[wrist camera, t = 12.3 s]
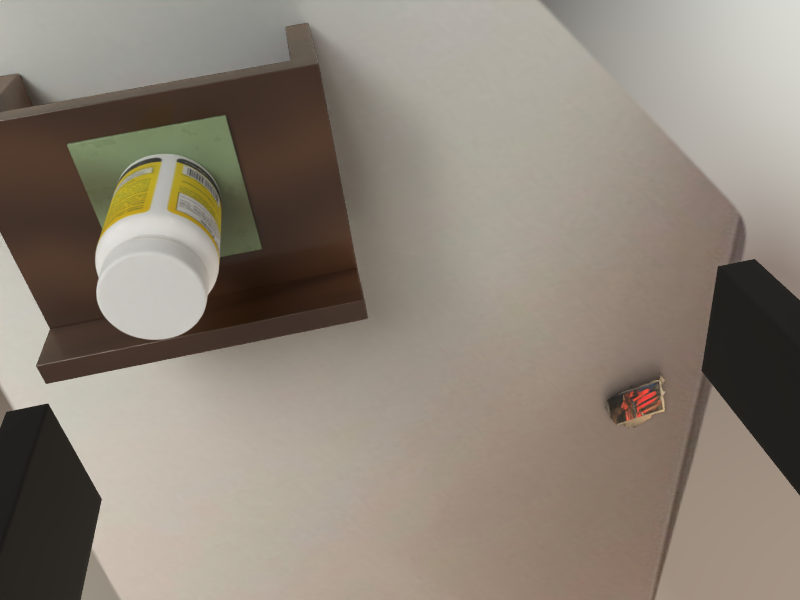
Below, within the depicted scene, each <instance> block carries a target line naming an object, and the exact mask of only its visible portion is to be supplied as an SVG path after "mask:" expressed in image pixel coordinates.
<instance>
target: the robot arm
mask: <svg viewBox="0 0 800 600" xmlns="http://www.w3.org/2000/svg"><path fill="white" fill-rule="evenodd" d="M702 372H703V373H704V374H705V376H706V377H707V378H708V380H709V381H710V382H711V383H712V385H713V386H714V387H715V388H716V390H717V391H718V392H719V393H720V395H721V396H722V397H723V399H724V400H725V401H726V402H727V403H728V405H729V406H730V407H731V409H732V410H733V411H734V413H735V414H736V415H737V416H738V418H739V419H740V420H741V421H742V422H743V424H744V425H745V426H746V428H747V429H748V430H749V432H750V433H751V434H752V435H753V437H754V438H755V439H756V440H757V442H758V443H759V444H760V446H761V447H762V448H763V449H764V451H765V452H766V453H767V454H768V456H769V457H770V458H771V459H772V461H773V462H774V463H775V465H776V466H777V467H778V468H779V470H780V471H781V472H782V473H783V475H784V476H785V477H786V479H787V480H788V481H789V482H790V484H791V485H792V486H793V487H794V489H795V490H796V491H797V492H798V494H799V495H800V300H799V299H798V298H797V297H796V296H794V295H793V294H792V293H791V292H790V291H789V290H788V289H787V288H786V287H785V286H783V285H782V284H781V283H780V282H779V281H778V280H777V279H776V278H774V276H772V275H771V274H770V273H769V272H768V271H767V270H766V269H765V268H764V267H763V266H762V265H761V264H759V263H758V262H757V261H756V260H755V259H753V260H748V261H743V262H738V263H733V264H728V265H723V266H718V270H717V276H716V283H715V289H714V295H713V302H712V308H711V314H710V321H709V327H708V333H707V340H706V346H705V352H704V359H703V365H702ZM101 500H102V499H101V497H100V495H99V493H98V492H97V490H96V488H95V486H94V485H93V483H92V481H91V479H90V477H89V476H88V474H87V472H86V470H85V468H84V467H83V465H82V463H81V461H80V460H79V458H78V456H77V454H76V452H75V451H74V449H73V447H72V445H71V443H70V442H69V440H68V438H67V436H66V434H65V433H64V431H63V429H62V427H61V426H60V424H59V422H58V420H57V418H56V417H55V415H54V413H53V411H52V409H51V408H50V406H49V404H43V405H39V406H34V407H29V408H24V409H19V410H14V411H9V412H6V415H5V417H4V420H3V422H2V425H1V427H0V600H81V595H82V590H83V585H84V581H85V576H86V571H87V566H88V562H89V557H90V552H91V548H92V543H93V538H94V533H95V529H96V524H97V519H98V514H99V510H100V505H101Z"/></svg>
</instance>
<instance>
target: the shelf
mask: <svg viewBox="0 0 800 600" xmlns="http://www.w3.org/2000/svg"><path fill="white" fill-rule="evenodd" d="M286 35H287V41H288V47H289V54H290V60H291V61H286V62H280V63H275V64H269V65H263V66H258V67H252V68H247V69H241V70H235V71H230V72H224V73H218V74H213V75H207V76H201V77H196V78H190V79H185V80H179V81H173V82H168V83H162V84H156V85H151V86H145V87H140V88H134V89H128V90H123V91H117V92H111V93H106V94H100V95H95V96H89V97H83V98H78V99H72V100H66V101H61V102H55V103H49V104H44V105H38V106H33V105H32V103H31V100H30V98H29V96H28V94H27V91H26V89H25V87H24V84H23V82H22V80H21V77H20V75H19V74H12V75H6V76H0V232H1V234H2V236H3V238H4V240H5V242H6V244H7V246H8V248H9V250H10V252H11V254H12V256H13V258H14V260H15V262H16V263H17V265H18V267H19V269H20V271H21V273H22V275H23V277H24V279H25V281H26V283H27V285H28V287H29V289H30V291H31V293H32V295H33V297H34V298H35V300H36V302H37V304H38V306H39V308H40V310H41V312H42V314H43V316H44V318H45V320H46V322H47V324H48V326H49V328H50V330H49V333H48V336H47V338H46V341H45V344H44V346H43V349H42V352H41V354H40V357H39V360H38V362H37V365H36V367H37V368H38V370H39V372H40V374H41V376H42V377H43V379H44V381H45V383H46V384H48V383H53V382H58V381H63V380H68V379H73V378H78V377H83V376H88V375H93V374H98V373H102V372H107V371H112V370H117V369H122V368H127V367H132V366H137V365H142V364H147V363H152V362H157V361H162V360H167V359H172V358H176V357H181V356H186V355H191V354H196V353H201V352H206V351H211V350H216V349H221V348H226V347H231V346H236V345H241V344H246V343H250V342H255V341H260V340H265V339H270V338H275V337H280V336H285V335H290V334H295V333H300V332H305V331H310V330H315V329H320V328H324V327H329V326H334V325H339V324H344V323H349V322H354V321H359V320H364V319H368V315H367V310H366V305H365V299H364V295H363V291H362V286H361V282H360V278H359V273H358V269H357V264H356V258H355V253H354V248H353V243H352V237H351V232H350V227H349V221H348V216H347V211H346V206H345V200H344V195H343V190H342V184H341V179H340V174H339V169H338V163H337V158H336V153H335V147H334V142H333V137H332V132H331V126H330V121H329V116H328V110H327V105H326V100H325V95H324V89H323V84H322V79H321V73H320V68H319V63H318V59H317V56H316V52H315V48H314V44H313V40H312V36H311V33H310V29H309V25H308V23H304V24H298V25H292V26H287V27H286ZM155 154H175V155H180V156H183V157H186V158H189V159H191V160H193V161H195V162H197V163H198V164H200V165H201V166H202V167H204V168H205V169H206V170H207V171H208V172H209V173H210V174H211V176H212V177H213V178H214V180H215V182H216V184H217V186H218V188H219V191H220V194H221V200H222V213H221V237H220V259H219V260H220V261H219V272H218V276H217V279H216V282H215V284H214V286H213V288H212V290H211V291H210V293H209V294H208V296H207V303H206V308H205V310H204V313H203V315H202V316H201V318H200V320H199V321H198V322H197V323H196V324H195V325H194V326H193V327H192V328H191V329H189V330H188V331H186V332H185V333H183V334H181V335H178V336H175V337H172V338H168V339H161V340H149V339H142V338H137V337H134V336H131V335H128V334H126V333H124V332H122V331H120V330H119V329H117V328H116V327H114V326H113V325H112V324H111V323H110V322H109V321H108V320H107V319H106V318H105V316H104V315H103V313H102V312H101V310H100V308H99V305H98V302H97V295H96V289H97V283H98V279H99V277H98V274H97V271H96V265H95V255H96V248H97V245H98V241H99V238H100V235H101V232H102V229H103V226H104V222H105V219H106V216H107V213H108V210H109V207H110V204H111V201H112V198H113V194H114V191H115V188H116V185H117V183H118V180H119V178H120V177H121V175H122V173H123V172H124V171H125V170H126V169H127V168H128V166H130V165H131V164H132V163H134V162H135V161H137V160H139V159H141V158H143V157H146V156H150V155H155Z"/></svg>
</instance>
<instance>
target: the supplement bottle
mask: <svg viewBox="0 0 800 600" xmlns="http://www.w3.org/2000/svg"><path fill="white" fill-rule="evenodd" d="M221 213H222V200H221V194H220V191H219V188H218V186H217V184H216V182H215V180H214V178H213V177H212V176H211V174H210V173H209V172H208V171H207V170H206V169H205V168H204V167H202V166H201V165H200V164H198V163H197V162H195V161H193V160H191V159H189V158H186V157H183V156H180V155H175V154H155V155H150V156H146V157H143V158H141V159H139V160H137V161H135V162H134V163H132V164H131V165H130V166H128V168H127V169H126V170H125V171H124V172H123V173H122V175H121V177H120V178H119V180H118V183H117V185H116V188H115V191H114V194H113V198H112V201H111V204H110V207H109V210H108V213H107V216H106V219H105V222H104V226H103V229H102V232H101V235H100V238H99V241H98V245H97V248H96V255H95V265H96V271H97V274H98V277H99V279H98V283H97V289H96V295H97V302H98V305H99V308H100V310H101V312H102V313H103V315H104V316H105V318H106V319H107V320H108V321H109V322H110V323H111V324H112V325H113V326H114V327H116V328H117V329H119V330H120V331H122V332H124V333H126V334H128V335H131V336H134V337H137V338H142V339H149V340H161V339H168V338H172V337H175V336H178V335H181V334H183V333H185V332H186V331H188V330H189V329H191V328H192V327H193V326H194V325H195V324H196V323H197V322H198V321H199V320H200V318H201V316H202V315H203V313H204V310H205V308H206V303H207V296H208V294H209V293H210V291H211V290H212V288H213V286H214V284H215V282H216V279H217V276H218V272H219V261H220V260H219V259H220V237H221Z"/></svg>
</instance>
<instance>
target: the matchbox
mask: <svg viewBox="0 0 800 600" xmlns="http://www.w3.org/2000/svg"><path fill="white" fill-rule="evenodd" d="M660 375H661V374H660ZM660 375H659V376H660ZM659 379H660V380H656V381H652V382H651V381H650V382H651V383H649V384H645V385H642V386H640V387H637V388H634V389H631V390H627V391H625V392H622V393H620V394H618V395H616V396H614V397H612V398H610V399H608V400H607V408H608V410H609V412H608V413H609V415H610V418H611V419H612V420H613V421H614V423H615V424H616V425H620V424H623V423H624V425H625V426H626V427H628V428H630V427H632V426H633V427H634V428H635V426H636V427H637V426H639V425H640V424H642V423H643V422H645V421H646V420H648V419H650V418H652V417H651V415H652V414H655V413H660V412H662V411H665V410H664V408H665V407H664V399H663V395H664V393H665V392H666V391H665V392H663V390H662V387H661V386H662V385H661V383H662V384H664V382H665V380H664V378H663V377H662V375H661V376H660V377H659ZM630 387H632V386H630ZM605 408H606V407H605ZM647 416H649V417H647ZM628 422H629V423H628ZM625 423H626V424H625Z"/></svg>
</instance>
